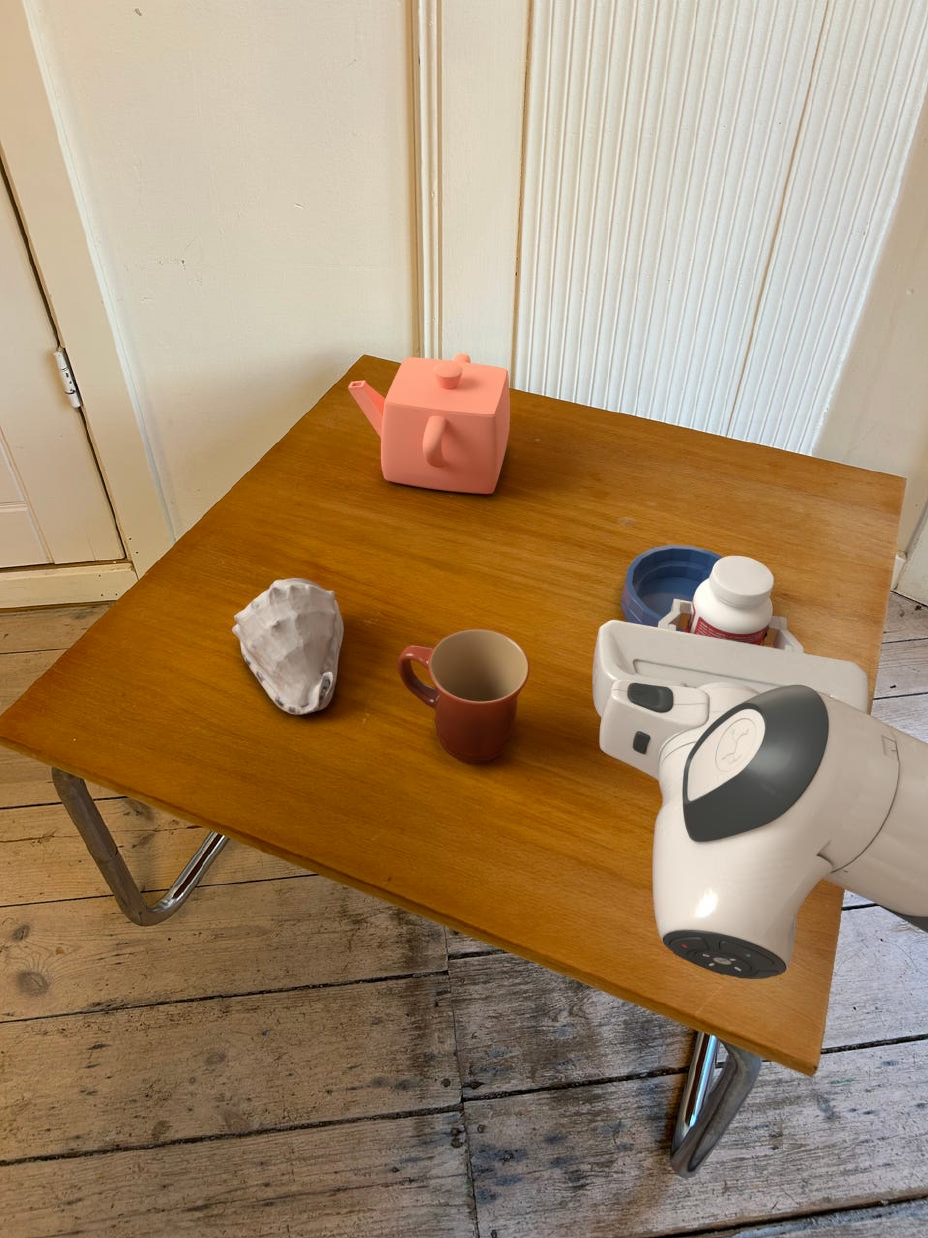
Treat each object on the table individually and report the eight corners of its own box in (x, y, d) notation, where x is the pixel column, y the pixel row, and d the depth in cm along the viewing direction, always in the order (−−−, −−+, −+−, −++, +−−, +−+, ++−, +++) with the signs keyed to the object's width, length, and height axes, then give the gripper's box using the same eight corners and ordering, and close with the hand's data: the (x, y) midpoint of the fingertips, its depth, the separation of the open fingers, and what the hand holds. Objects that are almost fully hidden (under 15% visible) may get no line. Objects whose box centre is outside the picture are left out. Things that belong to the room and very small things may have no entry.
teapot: (514, 426, 120) (522, 332, 110) (490, 523, 104) (496, 424, 95) (375, 409, 122) (370, 315, 112) (331, 502, 106) (321, 403, 97)
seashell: (300, 733, 81) (288, 662, 74) (219, 652, 88) (200, 580, 81) (398, 668, 88) (395, 597, 80) (315, 597, 94) (306, 526, 87)
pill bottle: (759, 691, 72) (799, 596, 65) (691, 703, 71) (724, 607, 64) (726, 639, 77) (761, 544, 69) (662, 649, 76) (690, 553, 68)
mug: (532, 717, 84) (542, 645, 76) (501, 788, 78) (509, 717, 70) (420, 680, 86) (419, 607, 79) (381, 745, 81) (377, 672, 73)
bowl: (743, 582, 98) (753, 555, 96) (743, 668, 89) (754, 641, 86) (626, 562, 100) (632, 535, 97) (614, 644, 91) (620, 617, 88)
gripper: (895, 748, 57) (872, 607, 67) (589, 690, 60) (609, 563, 70) (862, 801, 62) (845, 662, 71) (578, 745, 64) (599, 619, 74)
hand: (726, 613), depth 70 cm, fingers closed on pill bottle, 6 cm apart
